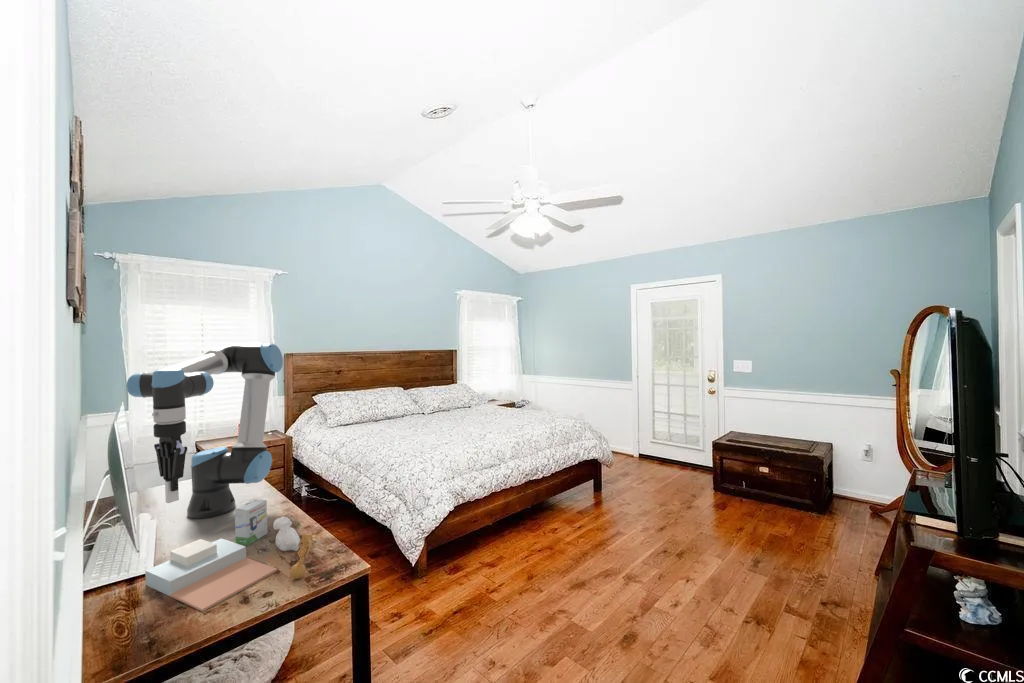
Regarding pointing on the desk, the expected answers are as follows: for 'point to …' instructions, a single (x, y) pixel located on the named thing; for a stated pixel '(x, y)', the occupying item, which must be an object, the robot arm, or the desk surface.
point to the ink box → (250, 521)
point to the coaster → (193, 552)
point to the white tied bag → (286, 535)
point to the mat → (223, 584)
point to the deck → (193, 568)
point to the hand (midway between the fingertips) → (172, 501)
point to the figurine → (301, 557)
